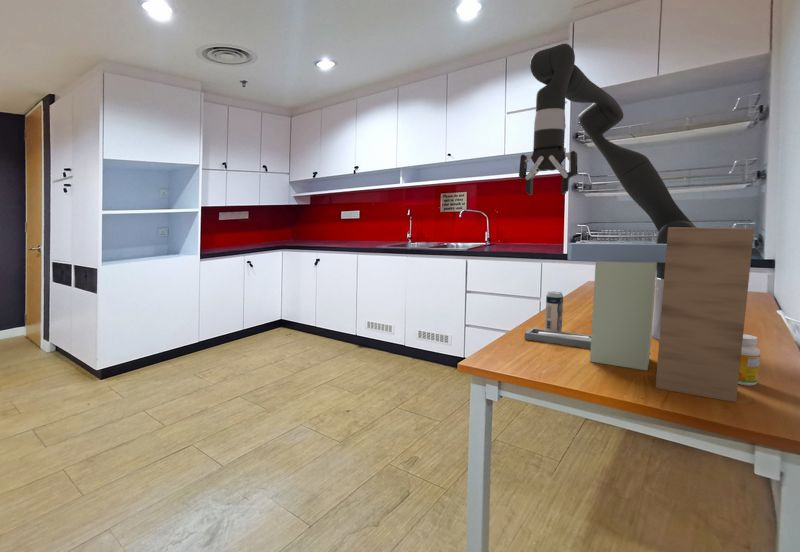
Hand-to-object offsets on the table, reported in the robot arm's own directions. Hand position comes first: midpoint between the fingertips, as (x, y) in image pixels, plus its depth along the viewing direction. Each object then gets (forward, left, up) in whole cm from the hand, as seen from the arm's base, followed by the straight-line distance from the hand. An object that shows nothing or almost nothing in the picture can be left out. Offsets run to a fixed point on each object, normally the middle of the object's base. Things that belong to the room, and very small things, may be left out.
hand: (546, 194), depth 115 cm
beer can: (-15, 0, -40) cm, 43 cm away
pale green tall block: (+4, +20, -40) cm, 45 cm away
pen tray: (-6, +6, -40) cm, 41 cm away
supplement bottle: (+6, +43, -40) cm, 59 cm away
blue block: (+5, +19, -16) cm, 26 cm away
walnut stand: (+16, +34, -40) cm, 55 cm away
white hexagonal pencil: (-7, +6, -41) cm, 42 cm away
